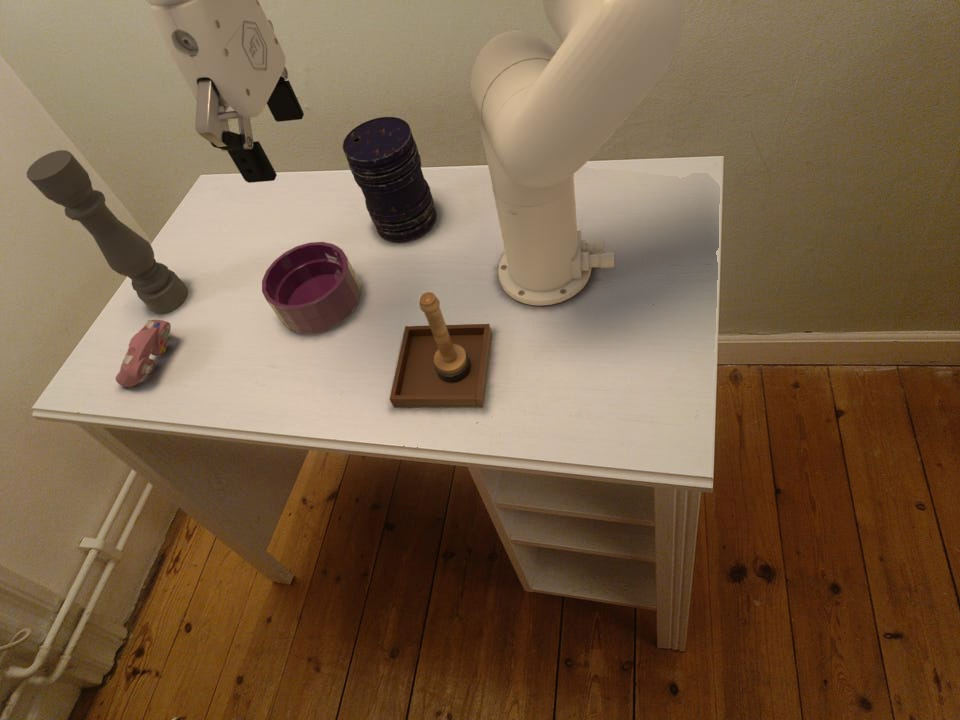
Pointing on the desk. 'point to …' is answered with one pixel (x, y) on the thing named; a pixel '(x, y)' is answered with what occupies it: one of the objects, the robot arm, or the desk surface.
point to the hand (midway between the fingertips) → (276, 148)
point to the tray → (420, 378)
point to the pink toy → (143, 352)
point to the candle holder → (107, 230)
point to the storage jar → (391, 178)
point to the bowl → (311, 287)
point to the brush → (444, 343)
